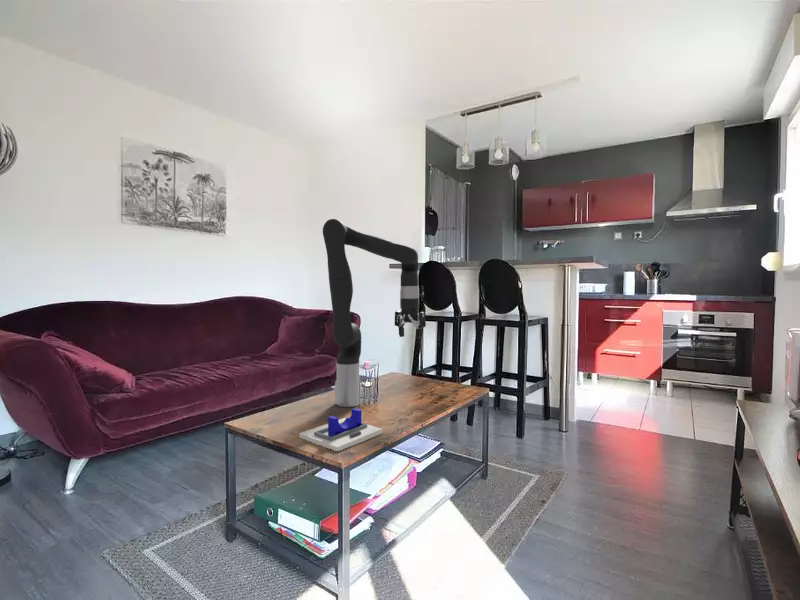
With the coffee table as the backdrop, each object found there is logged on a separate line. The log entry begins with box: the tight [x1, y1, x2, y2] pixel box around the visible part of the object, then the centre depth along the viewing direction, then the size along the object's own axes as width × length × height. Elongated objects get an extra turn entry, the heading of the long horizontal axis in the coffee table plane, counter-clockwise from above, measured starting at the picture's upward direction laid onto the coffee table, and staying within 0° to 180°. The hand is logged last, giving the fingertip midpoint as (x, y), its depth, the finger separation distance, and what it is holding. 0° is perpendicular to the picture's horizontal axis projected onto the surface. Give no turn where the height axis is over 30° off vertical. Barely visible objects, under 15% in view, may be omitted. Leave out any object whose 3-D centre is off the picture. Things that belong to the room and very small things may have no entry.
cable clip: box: [327, 407, 363, 437], centre depth 138 cm, size 12×4×6 cm, turn 141°
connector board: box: [298, 417, 383, 452], centre depth 138 cm, size 18×20×2 cm
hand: (409, 337), depth 170 cm, fingers open, 8 cm apart
